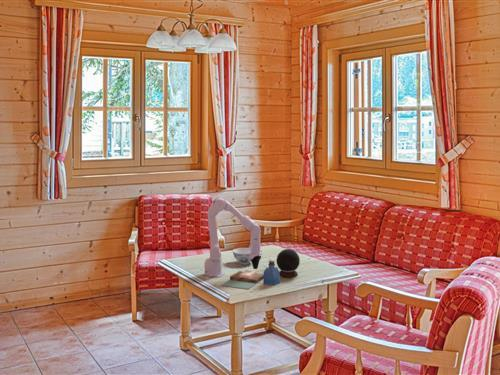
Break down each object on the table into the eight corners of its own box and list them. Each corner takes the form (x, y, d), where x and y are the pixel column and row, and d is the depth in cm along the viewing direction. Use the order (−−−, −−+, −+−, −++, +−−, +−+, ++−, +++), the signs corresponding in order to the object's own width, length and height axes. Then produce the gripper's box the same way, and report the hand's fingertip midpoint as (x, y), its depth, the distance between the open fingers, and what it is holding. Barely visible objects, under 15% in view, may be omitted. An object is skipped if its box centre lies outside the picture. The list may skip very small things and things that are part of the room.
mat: (221, 285, 296) (221, 284, 296) (229, 280, 305) (229, 279, 305) (248, 289, 290) (248, 288, 289) (256, 283, 299) (256, 283, 299)
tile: (239, 276, 305) (239, 274, 305) (245, 272, 313) (245, 270, 313) (249, 278, 303) (249, 275, 302) (255, 273, 311) (255, 271, 311)
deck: (229, 280, 306) (229, 276, 306) (239, 274, 317) (239, 271, 316) (256, 283, 300) (256, 280, 299) (265, 277, 310) (265, 274, 310)
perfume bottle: (272, 285, 296) (272, 263, 295) (263, 283, 300) (263, 261, 299) (279, 283, 301) (279, 261, 299) (270, 280, 305) (270, 259, 303)
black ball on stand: (302, 277, 310) (302, 251, 308) (279, 279, 308) (279, 252, 306) (296, 271, 323) (296, 246, 321) (274, 272, 321) (274, 247, 319)
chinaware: (228, 264, 338) (228, 251, 337) (240, 258, 351) (240, 246, 350) (250, 267, 331) (250, 254, 330) (261, 261, 344) (261, 249, 343)
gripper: (256, 248, 308) (256, 272, 310) (266, 243, 321) (266, 266, 323) (245, 247, 311) (245, 271, 312) (255, 242, 324) (255, 264, 326)
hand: (255, 268), depth 318 cm, fingers closed
